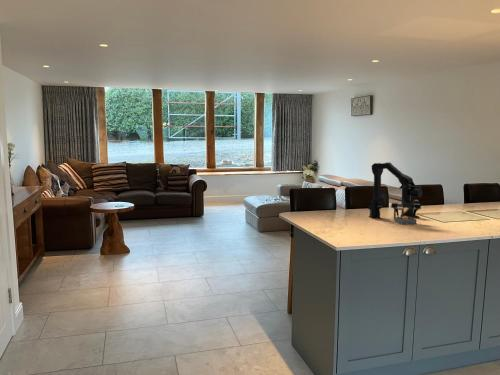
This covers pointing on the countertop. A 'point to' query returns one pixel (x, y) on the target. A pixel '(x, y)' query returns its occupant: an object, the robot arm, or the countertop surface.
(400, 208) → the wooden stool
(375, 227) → the countertop surface
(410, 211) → the sculpture
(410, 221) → the tray
